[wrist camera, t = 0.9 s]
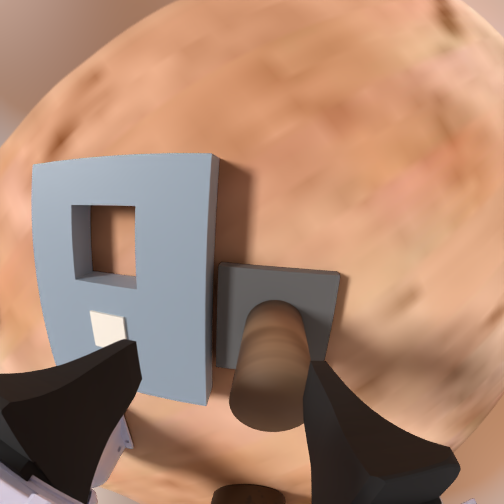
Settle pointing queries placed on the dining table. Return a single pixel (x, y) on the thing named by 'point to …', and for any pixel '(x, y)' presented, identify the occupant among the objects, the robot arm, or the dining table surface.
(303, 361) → the walnut peg
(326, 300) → the pad
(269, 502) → the olive oil
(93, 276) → the hole plate
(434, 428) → the dining table surface
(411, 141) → the dining table surface
